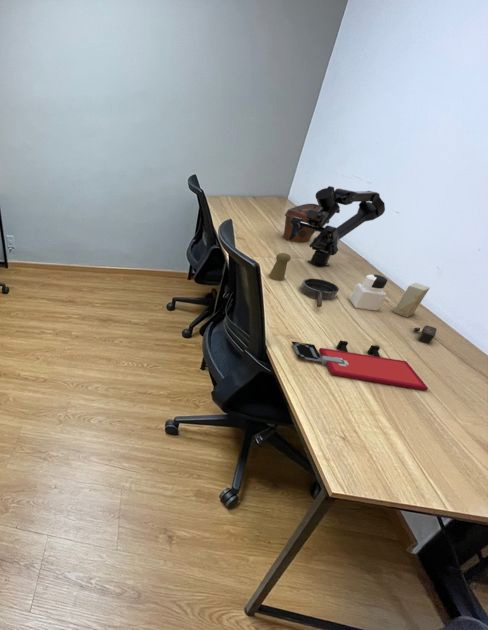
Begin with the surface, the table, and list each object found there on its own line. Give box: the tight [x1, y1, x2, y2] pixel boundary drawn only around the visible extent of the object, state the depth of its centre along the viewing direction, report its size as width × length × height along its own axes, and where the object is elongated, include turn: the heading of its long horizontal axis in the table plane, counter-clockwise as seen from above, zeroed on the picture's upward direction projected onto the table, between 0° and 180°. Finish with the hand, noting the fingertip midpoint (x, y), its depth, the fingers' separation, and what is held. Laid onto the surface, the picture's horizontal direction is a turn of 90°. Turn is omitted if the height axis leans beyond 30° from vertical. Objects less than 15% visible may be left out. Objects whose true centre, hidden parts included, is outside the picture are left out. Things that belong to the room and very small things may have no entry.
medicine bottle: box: [349, 273, 388, 312], centre depth 126 cm, size 7×7×12 cm
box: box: [393, 282, 431, 318], centre depth 121 cm, size 5×4×11 cm
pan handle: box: [316, 291, 323, 308], centre depth 128 cm, size 12×2×2 cm, turn 147°
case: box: [283, 203, 321, 243], centre depth 186 cm, size 18×20×18 cm
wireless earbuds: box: [413, 324, 438, 344], centre depth 111 cm, size 5×7×3 cm, turn 133°
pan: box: [299, 277, 340, 301], centre depth 137 cm, size 12×12×4 cm
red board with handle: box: [291, 340, 429, 391], centre depth 100 cm, size 30×3×15 cm
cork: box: [268, 252, 292, 281], centre depth 147 cm, size 6×6×11 cm
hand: (299, 243), depth 147 cm, fingers open, 9 cm apart
